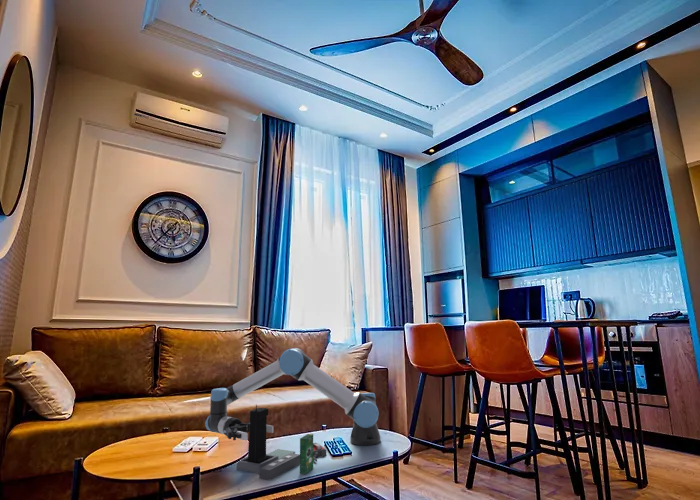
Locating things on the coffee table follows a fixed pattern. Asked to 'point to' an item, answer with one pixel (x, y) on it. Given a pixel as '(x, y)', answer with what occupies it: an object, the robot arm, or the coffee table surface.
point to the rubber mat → (280, 453)
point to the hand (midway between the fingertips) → (260, 433)
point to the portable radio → (257, 435)
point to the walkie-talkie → (318, 451)
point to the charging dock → (270, 465)
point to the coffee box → (306, 453)
